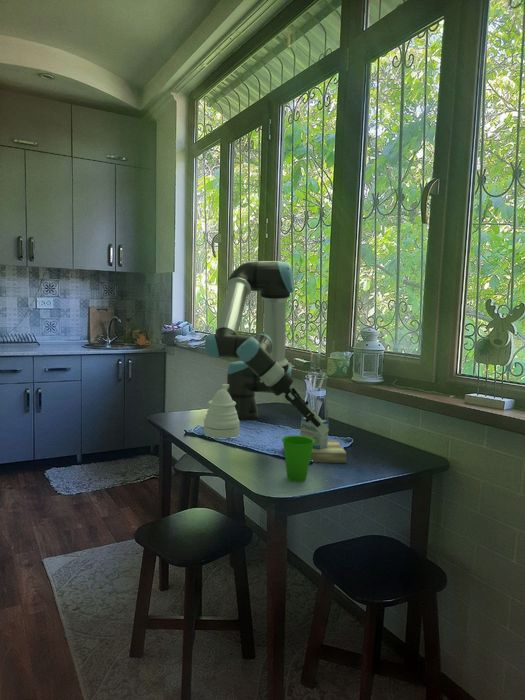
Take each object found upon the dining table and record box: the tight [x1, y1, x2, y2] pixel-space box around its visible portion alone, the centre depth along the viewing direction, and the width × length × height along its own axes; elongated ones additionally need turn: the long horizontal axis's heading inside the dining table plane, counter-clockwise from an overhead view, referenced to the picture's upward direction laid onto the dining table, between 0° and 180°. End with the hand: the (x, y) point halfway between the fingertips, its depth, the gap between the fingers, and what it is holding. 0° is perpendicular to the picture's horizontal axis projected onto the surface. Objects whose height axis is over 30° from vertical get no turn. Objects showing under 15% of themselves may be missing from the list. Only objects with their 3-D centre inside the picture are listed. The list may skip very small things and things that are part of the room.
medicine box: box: [299, 416, 330, 449], centre depth 156 cm, size 8×4×9 cm, turn 51°
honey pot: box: [203, 383, 241, 438], centre depth 176 cm, size 13×13×18 cm
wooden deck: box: [282, 439, 347, 464], centre depth 157 cm, size 14×18×3 cm
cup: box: [281, 434, 315, 483], centre depth 135 cm, size 9×9×11 cm
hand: (321, 427), depth 156 cm, fingers open, 13 cm apart
